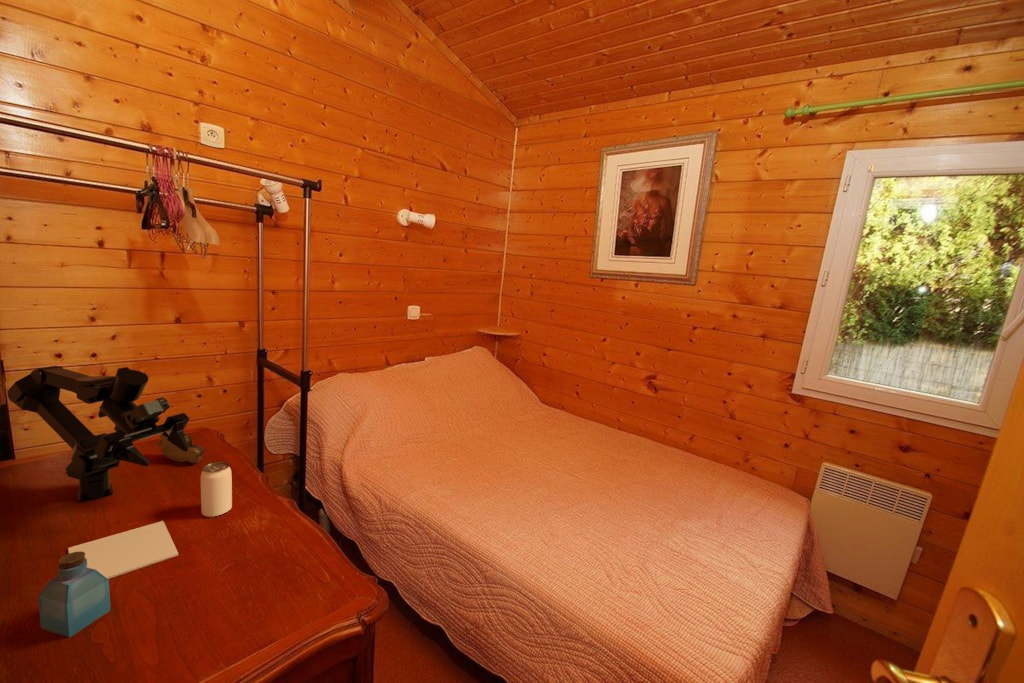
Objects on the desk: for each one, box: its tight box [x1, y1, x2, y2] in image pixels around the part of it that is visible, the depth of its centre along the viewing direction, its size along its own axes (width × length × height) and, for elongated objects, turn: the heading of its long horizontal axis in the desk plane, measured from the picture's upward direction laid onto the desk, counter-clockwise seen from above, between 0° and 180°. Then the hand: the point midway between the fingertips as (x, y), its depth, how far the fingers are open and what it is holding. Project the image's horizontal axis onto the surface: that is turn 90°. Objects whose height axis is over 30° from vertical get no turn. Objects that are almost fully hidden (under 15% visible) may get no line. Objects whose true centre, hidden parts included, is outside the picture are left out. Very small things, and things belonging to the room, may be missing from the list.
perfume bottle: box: [37, 551, 111, 639], centre depth 75 cm, size 6×6×12 cm
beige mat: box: [67, 520, 179, 580], centre depth 93 cm, size 16×16×1 cm
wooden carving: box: [155, 432, 205, 464], centre depth 134 cm, size 16×5×10 cm, turn 80°
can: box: [200, 461, 233, 518], centre depth 109 cm, size 6×6×12 cm
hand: (168, 457), depth 104 cm, fingers open, 9 cm apart
